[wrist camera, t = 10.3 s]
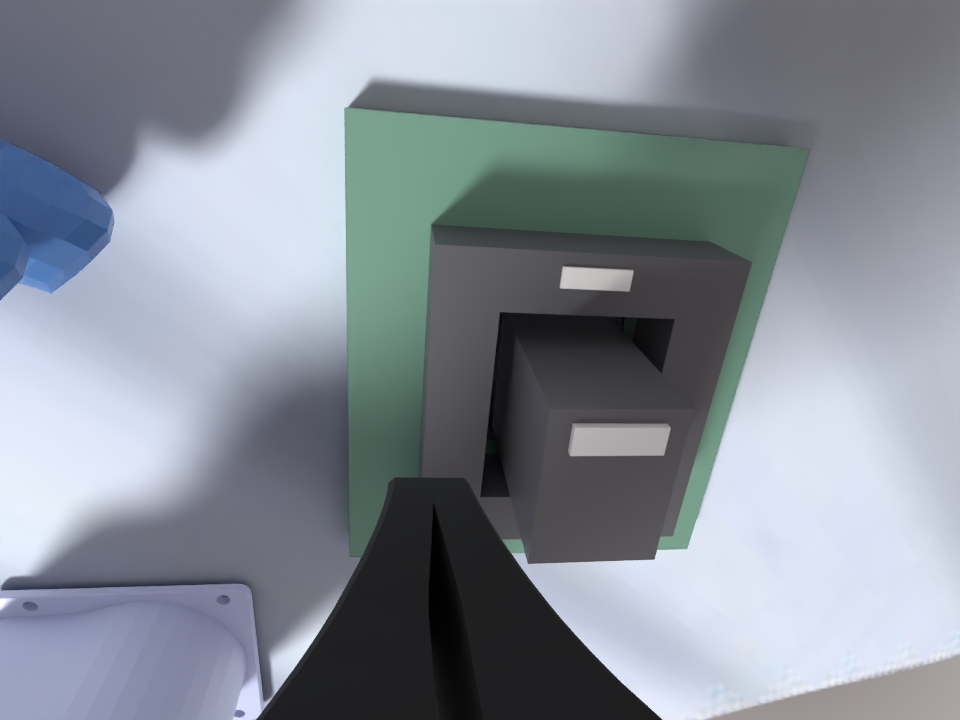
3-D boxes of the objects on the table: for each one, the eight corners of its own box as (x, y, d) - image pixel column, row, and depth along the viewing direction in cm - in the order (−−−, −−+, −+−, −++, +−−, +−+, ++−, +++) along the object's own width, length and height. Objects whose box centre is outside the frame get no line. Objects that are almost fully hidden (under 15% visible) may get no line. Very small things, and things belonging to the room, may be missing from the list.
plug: (491, 426, 22) (529, 569, 15) (503, 307, 20) (552, 413, 13) (583, 426, 22) (657, 564, 16) (603, 310, 20) (697, 413, 14)
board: (351, 538, 23) (343, 611, 20) (347, 107, 16) (334, 110, 13) (676, 532, 25) (717, 597, 22) (790, 146, 18) (872, 158, 15)
